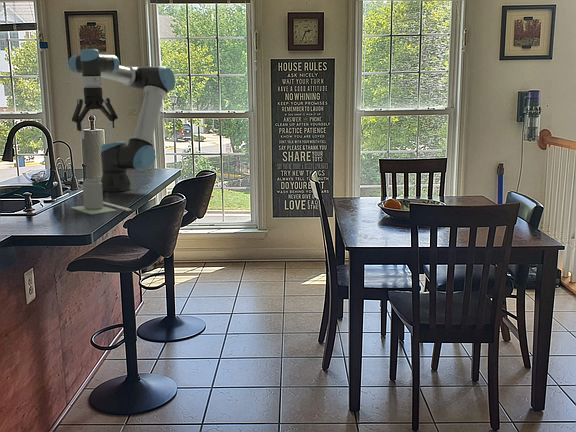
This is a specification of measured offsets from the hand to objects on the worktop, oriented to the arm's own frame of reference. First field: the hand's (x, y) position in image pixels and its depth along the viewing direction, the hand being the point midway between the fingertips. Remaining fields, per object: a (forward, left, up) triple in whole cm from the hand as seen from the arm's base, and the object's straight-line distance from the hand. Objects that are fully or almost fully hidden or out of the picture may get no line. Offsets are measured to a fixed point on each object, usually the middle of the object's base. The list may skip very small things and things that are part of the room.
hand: (96, 137), depth 259 cm
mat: (+12, +19, -28) cm, 35 cm away
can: (+12, +19, -27) cm, 35 cm away
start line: (+3, +19, -28) cm, 33 cm away
